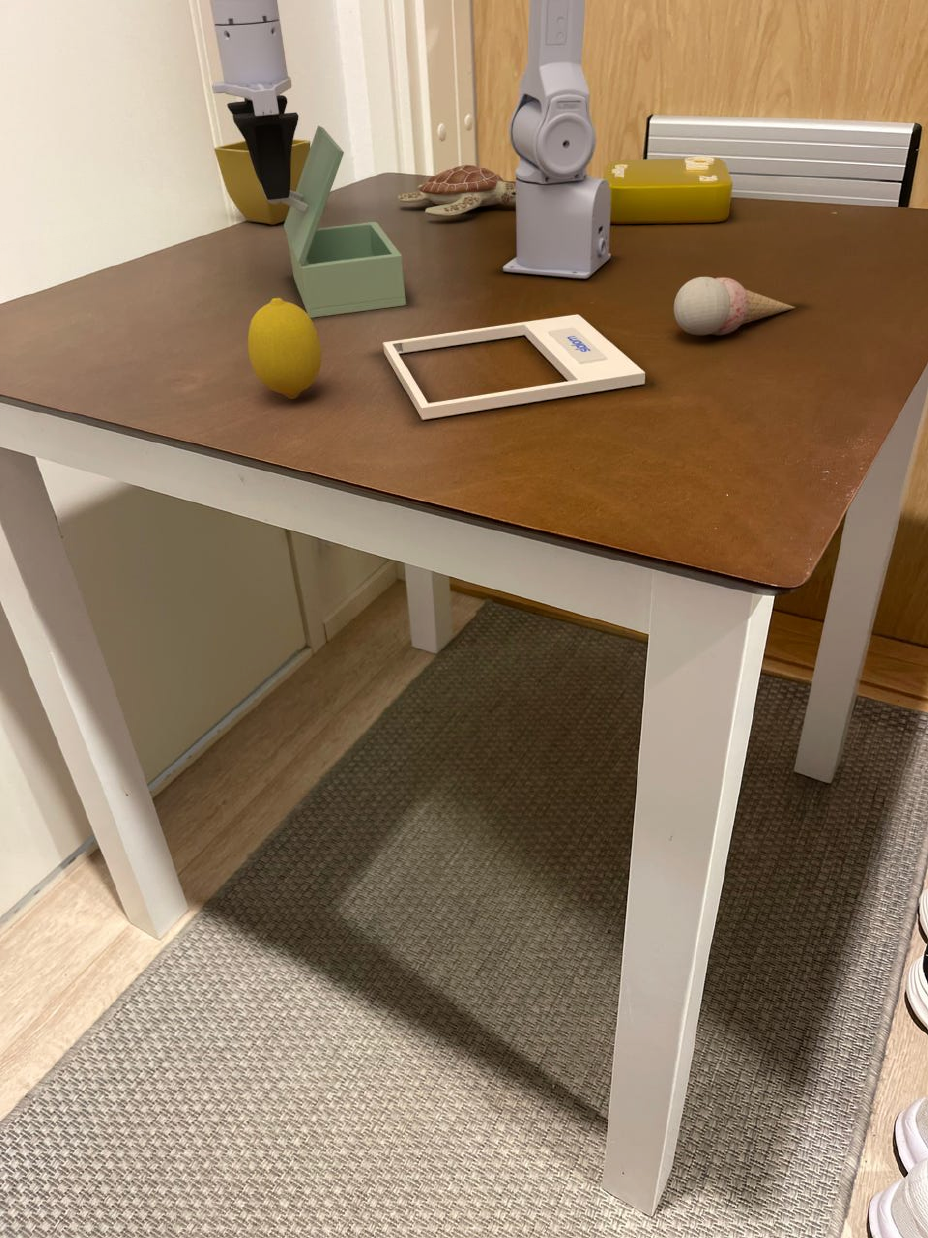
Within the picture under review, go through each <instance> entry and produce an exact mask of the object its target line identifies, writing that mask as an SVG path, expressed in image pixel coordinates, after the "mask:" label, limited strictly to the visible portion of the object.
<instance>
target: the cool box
mask: <svg viewBox="0 0 928 1238" xmlns="http://www.w3.org/2000/svg"><path fill="white" fill-rule="evenodd" d="M286 237H287V236H286ZM286 239H287V244H288V251H289V256H290V263H291V270H292V276H293V280H294V282H295V285H296V288H297V290H298V293H299V296H300V298H301V300H302V303H303V305H304V308H305V312H306V313H307V314H308V316H309V317H310V318H311V319H314V318H321V317H328V316H336V315H343V314H351V313H357V312H366V311H372V310H382V309H388V308H395V307H396V308H397V307H403V306H407V300H406V299H407V298H406V289H405V278H404V265H403V256H402V255H403V254H402V253H400V251H399V250H398V249H397V247H396V246H395V245H394V243H393V242H392V240H391V239H390V237H388V234H386V233H385V232H384V230H383V229H382V228H381V226H380V225H379V224H378V222H377V221H371V222H370V221H369V222H362V223H353V224H345V225H343V224H342V225H337V226H328V227H317V230H316V233H315V235H314V238H313V241H312V244H311V247H310V249H309V252H308V255H307V258H306V261H305V263H304V264H301V263H299V262H298V260H297V258H296V256H295V253H294V251H293V248H292V246H291V244H290V241H289V239H288V237H287V238H286Z"/></svg>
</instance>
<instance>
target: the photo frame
mask: <svg viewBox="0 0 928 1238" xmlns="http://www.w3.org/2000/svg"><path fill="white" fill-rule="evenodd" d="M519 336H525V337H526V338H527V340H528V341H530V343H531V344H532V345H533V346H534V347H535V348H536V349H537V350H538V351H539V353H541V354H542V355H543V356H544V357H545V358H546V360H548V362H550V363H551V365H552V366H553V367H554V368H555V369H556V370H557V371H558V372H559V373H560V374H561V375H562V377H564V378H565V380H567V381H563V382H555V383H550V384H543V385H536V386H531V387H524V388H518V389H511V390H505V391H500V392H499V391H498V392H492V393H486V394H485V393H484V394H480V395H473V396H468V397H460V398H455V399H449V400H442V401H441V400H440V401H435V402H428V401H427V399H426V397H425V396H424V394H423V392H422V391H421V389H420V388H419V385H418V384H417V383H416V381H415V379H414V377H413V376H412V374H411V373H410V371H409V369H408V367H407V366H406V364H405V362H404V361H403V359H402V357H401V356H400V354H405V353H411V352H419V351H426V350H433V349H439V348H445V347H451V346H458V345H459V346H460V345H466V344H472V343H479V342H487V341H493V340H500V339H507V338H513V337H519ZM382 345H383V346H382V347H383V353H384V355H385V357H386V359H387V361H388V363H389V364H390V366H391V367H392V370H393V371H394V373H395V375H396V376H397V378H398V380H399V381H400V383H401V385H402V387H403V389H404V390H405V392H406V395H408V398H409V399H410V401H411V402H412V405H413V406H414V408H415V410H416V411H417V413H418V414H419V416H420V419H421V420H422V421H424V420H430V419H436V418H442V417H449V416H454V415H460V414H466V413H473V412H478V411H486V410H492V409H499V408H504V407H509V406H517V405H523V404H529V403H534V402H542V401H547V400H553V399H554V400H555V399H559V398H566V397H572V396H577V395H583V394H584V395H585V394H591V393H596V392H597V393H599V392H604V391H609V390H615V389H622V388H627V387H628V388H629V387H632V386H634V387H635V386H640V385H645V383H646V372H645V371H644V370H643V369H642V368H640V366H638V365H637V364H636V363H635V362H634V361H632V359H630V358H629V357H628V356H627V355H626V354H624V352H623V351H621V350H620V349H618V348H617V346H616V345H614V344H613V343H612V342H611V341H610V340H608V338H606V337H605V336H604V335H602V334H601V333H600V331H598V330H597V329H596V328H595V327H593V326H592V325H591V324H590V323H589V322H588V321H587V320H586V319H584V318H583V317H582V316H581V315H579V314H571V315H563V316H557V317H551V318H543V319H542V318H541V319H536V320H530V321H522V322H516V323H508V324H501V325H495V326H489V327H481V328H474V329H473V328H472V329H467V330H460V331H453V332H447V333H440V334H439V333H438V334H432V335H425V336H419V337H412V338H404V339H398V340H397V339H396V340H391V341H383V342H382Z"/></svg>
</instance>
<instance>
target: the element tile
mask: <svg viewBox="0 0 928 1238" xmlns="http://www.w3.org/2000/svg"><path fill="white" fill-rule="evenodd" d="M726 164H727V163H726V162H725V161H724V160H723V159H721V158H720V157H711V156H690V157H685V158H652V159H651V158H649V159H647V158H646V159H644V158H643V159H642V158H641V159H613V160H610V161H608V162H607V163H605V165H604V170H603V179H605V180H607V181H608V183H609V187H610V194H611V208H610V225H612V224H613V225H662V224H664V225H665V224H668V225H669V224H671V225H672V224H673V225H674V224H716V223H722V222H725V221H726V220H728V218H729V216H730V208H731V200H732V194H733V193H732V191H733V180H732V177H731V175H730V172H729V170H728V167H727V165H726Z"/></svg>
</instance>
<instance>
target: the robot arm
mask: <svg viewBox="0 0 928 1238" xmlns="http://www.w3.org/2000/svg"><path fill="white" fill-rule="evenodd" d="M528 2H529V3H528V26H527V27H528V28H527V30H528V31H527V55H526V56H527V57H526V59H527V60H526V61H527V62H526V66H525V69H524V71H523V74H522V76H521V79H520V82H519V91H518V93H519V94H518V100H517V104H516V107H515V109H514V111H513V113H512V115H511V118H510V121H509V126H508V128H509V129H508V135H509V141H510V145H511V147H512V149H513V151H514V152H515V154H516V155H517V156H518V157H519V162H518V165H517V167H516V169H515V184H516V204H515V216H516V217H515V225H516V226H515V227H516V229H515V232H516V233H515V234H516V236H515V237H516V239H515V240H516V257H514V258H513V259H511V260H510V261H508V262H507V263H506V264H505V265H503V266H502V271H503V272H506V273H516V274H525V275H526V274H527V275H538V276H548V277H549V276H550V277H559V278H570V279H571V278H572V279H583V280H585V279H588V278H590V277H591V276H592V275H593V274H594V273H595V272H596V271H597V270H599V269H600V268H601V267H602V266H603V265H604V264H606V263H607V262H608V261H609V260H610V259H611V253H610V231H611V230H610V228H611V224H610V208H611V194H610V187H609V183H608V181H607V180H605V179H604V178H600V177H593V176H590V175H589V174H588V166H589V164H590V162H591V160H592V158H593V156H594V155H595V154H594V153H595V150H596V144H597V133H596V129H595V126H594V124H593V120H592V117H591V112H590V95H591V93H590V90H589V86H588V84H587V80H586V77H585V75H584V72H583V68H582V59H583V46H584V45H583V44H584V43H583V42H584V27H585V12H586V0H529V1H528ZM209 4H210V10H211V15H212V21H213V24H214V25H213V27H214V31H215V37H216V43H217V48H218V49H217V50H218V54H219V60H220V66H221V70H222V71H221V72H222V77H223V81H215V82H211V84H210V85H211V89H212V94H226V95H228V96H234V97H239V98H243V99H244V100H243V101H233V102H229V103H227V104H226V107H227V109H228V110H229V111H230V113H231V115H232V120H233V123H234V125H235V126H236V128H237V130H238V131H239V132H240V134H241V136H242V137H243V140H244V141H246V144H247V147H248V150H249V153H250V156H251V160H252V163H253V166H254V169H255V172H256V174H257V177H258V179H259V181H260V183H261V186H262V189H263V191H264V194H265V196H266V198H267V200H273V199H282V198H289V194H290V178H291V149H292V142H293V139H294V137H295V133H296V129H297V126H298V122H299V114H298V113H297V112H286V110H287V105H288V103H289V102H288V97H286V95H283V93H285V92H287V91H288V90H290V89H291V88H292V80H291V77H290V76H289V72H288V65H287V59H286V52H285V45H284V38H283V37H284V36H283V31H282V25H281V19H280V10H279V4H278V0H209Z"/></svg>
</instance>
